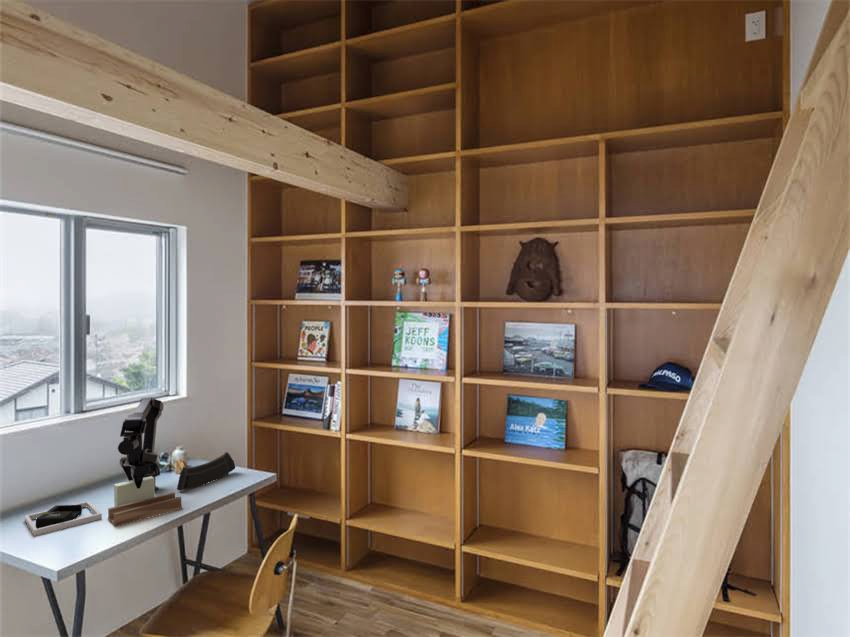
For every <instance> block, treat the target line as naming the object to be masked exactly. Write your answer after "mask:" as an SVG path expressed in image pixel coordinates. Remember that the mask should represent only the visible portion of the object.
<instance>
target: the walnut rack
mask: <svg viewBox="0 0 850 637" xmlns="http://www.w3.org/2000/svg"><path fill="white" fill-rule="evenodd" d="M178 509H179V510H182V509H183V507H182V497H181V496H177V497H176V493H175V492H170V493H166V494H161V495H157V496H155V497H153V498H149V499H145V500H140V501H136V502H132V503H128V504H124V505H120V506H116V507H114V506H113V507H109V508H108V509H107V513H108V514H107V516H108V517H107V520H108V521H109V522H110V524H112V526H113V527H115V526H117V527H120V526H123V524H124V525H127V524H126V523H128V524H131V523H134V522H133V521H135V522H138V521H137V520H139V521H141V520H140V519H142V520H146V519H149V518H148V517H150V518H153V517H152V516H154V517H157V516H160V515H159V514H161V515H164V514H163V513H165V514H168V513H171V511H172V512H175V511H174V510H176V511H179V510H178ZM167 512H168V513H167ZM156 515H157V516H156ZM145 518H146V519H145ZM130 522H131V523H130ZM119 525H120V526H119Z"/></svg>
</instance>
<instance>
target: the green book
mask: <svg viewBox="0 0 850 637" xmlns="http://www.w3.org/2000/svg"><path fill="white" fill-rule="evenodd" d="M155 484H156V480H155V481H154V477H152V476H150V477H145V478H143V481H142V484H141V487H140V488H138V489H137V487H136V485H135V482H134V480H131V481H129V480H127V481H123V482H119V483H115V484H113V485H114V486H113V487H114V488H113V490H114V495H113V496H114V501H113V502H114V506H113V507H116V506H120V505H124V504H128V503H132V502H136V501H140V500H145V499H149V498H153V497H156V494H155V492H156V490H155Z"/></svg>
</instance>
